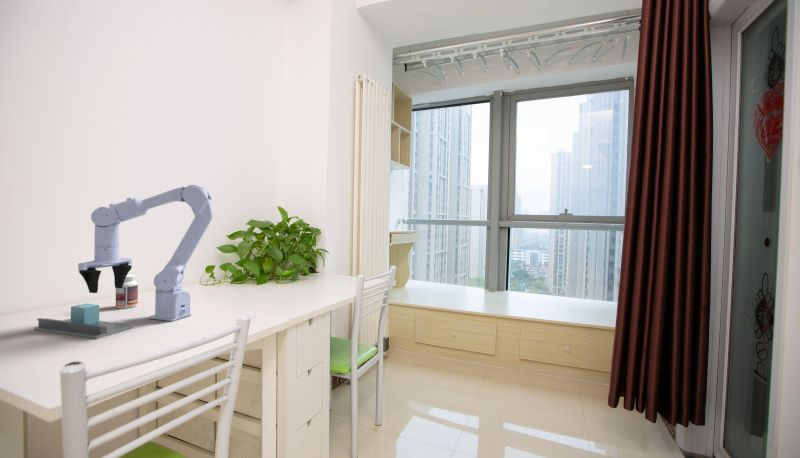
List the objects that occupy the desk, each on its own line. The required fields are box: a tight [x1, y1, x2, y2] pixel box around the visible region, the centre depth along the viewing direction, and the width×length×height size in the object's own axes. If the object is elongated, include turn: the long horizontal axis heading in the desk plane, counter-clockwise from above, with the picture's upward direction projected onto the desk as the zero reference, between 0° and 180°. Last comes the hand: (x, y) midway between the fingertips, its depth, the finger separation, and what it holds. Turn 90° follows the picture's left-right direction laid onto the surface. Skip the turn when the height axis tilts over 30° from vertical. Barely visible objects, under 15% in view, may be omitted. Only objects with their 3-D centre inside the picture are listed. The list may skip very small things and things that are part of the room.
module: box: [70, 303, 100, 324], centre depth 101 cm, size 5×4×5 cm
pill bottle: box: [115, 274, 139, 309], centre depth 122 cm, size 6×6×11 cm
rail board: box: [33, 317, 134, 340], centre depth 98 cm, size 22×10×3 cm, turn 78°
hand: (106, 290), depth 107 cm, fingers open, 7 cm apart
